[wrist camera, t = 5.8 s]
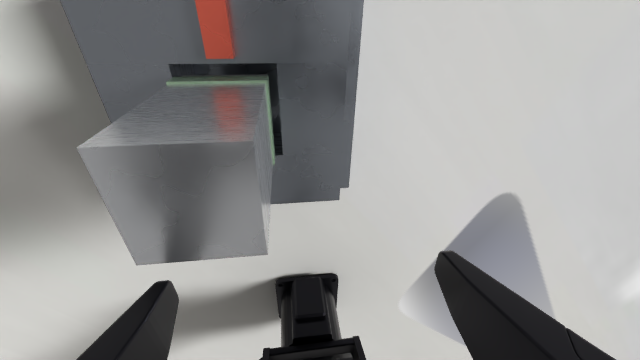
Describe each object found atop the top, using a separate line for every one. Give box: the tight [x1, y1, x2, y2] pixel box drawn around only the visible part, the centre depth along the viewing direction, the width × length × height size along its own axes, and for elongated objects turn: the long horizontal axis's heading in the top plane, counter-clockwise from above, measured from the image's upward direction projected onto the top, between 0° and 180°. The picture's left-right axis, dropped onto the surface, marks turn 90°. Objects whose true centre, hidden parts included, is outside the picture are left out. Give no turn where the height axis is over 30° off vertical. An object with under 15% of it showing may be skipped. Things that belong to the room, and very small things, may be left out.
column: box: [77, 74, 275, 265], centre depth 11 cm, size 4×4×8 cm
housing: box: [60, 0, 364, 204], centre depth 16 cm, size 15×15×5 cm
